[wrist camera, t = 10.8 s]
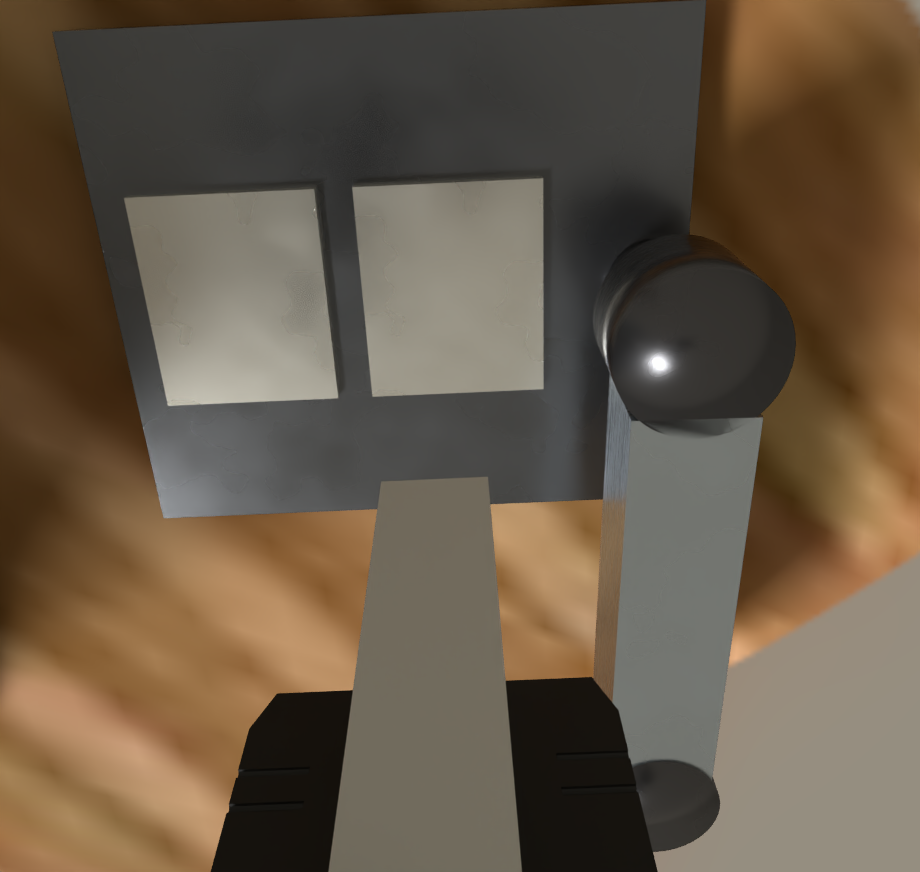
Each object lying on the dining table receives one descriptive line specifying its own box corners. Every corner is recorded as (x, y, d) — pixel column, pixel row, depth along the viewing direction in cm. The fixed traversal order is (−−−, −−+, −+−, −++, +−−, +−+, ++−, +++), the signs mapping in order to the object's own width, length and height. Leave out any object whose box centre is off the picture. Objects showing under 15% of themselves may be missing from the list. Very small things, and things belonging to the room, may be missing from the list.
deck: (174, 498, 29) (139, 562, 26) (71, 30, 23) (8, 35, 19) (667, 477, 29) (695, 538, 25) (701, -1, 22) (744, -1, 19)
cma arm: (693, 766, 29) (720, 850, 26) (572, 769, 29) (586, 853, 26) (761, 230, 21) (809, 267, 18) (595, 235, 21) (618, 272, 18)
